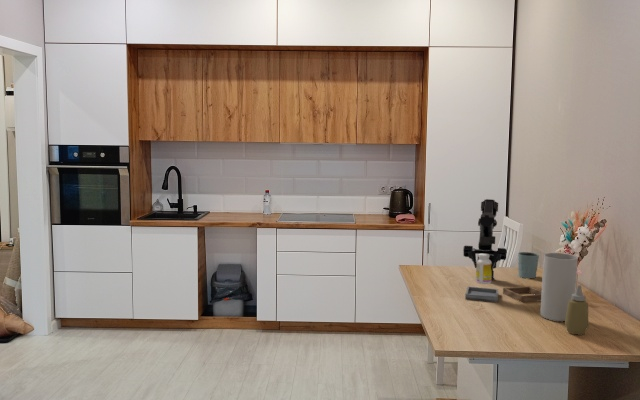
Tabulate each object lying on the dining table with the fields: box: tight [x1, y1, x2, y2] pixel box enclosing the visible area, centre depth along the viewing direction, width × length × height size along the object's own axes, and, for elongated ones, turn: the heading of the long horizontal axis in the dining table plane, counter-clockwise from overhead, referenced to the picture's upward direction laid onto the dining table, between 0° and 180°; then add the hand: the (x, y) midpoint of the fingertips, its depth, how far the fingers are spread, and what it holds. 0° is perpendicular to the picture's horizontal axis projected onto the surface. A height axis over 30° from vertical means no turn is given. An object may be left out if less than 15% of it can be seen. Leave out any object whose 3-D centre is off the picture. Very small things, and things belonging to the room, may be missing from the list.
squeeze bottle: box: [564, 284, 590, 336], centre depth 216 cm, size 8×8×18 cm
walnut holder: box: [502, 286, 542, 303], centre depth 265 cm, size 14×14×2 cm
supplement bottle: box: [475, 253, 492, 285], centre depth 262 cm, size 7×7×13 cm
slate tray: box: [464, 286, 499, 303], centre depth 264 cm, size 14×14×2 cm
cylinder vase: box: [539, 252, 579, 323], centre depth 234 cm, size 12×12×25 cm
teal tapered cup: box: [517, 251, 540, 279], centre depth 302 cm, size 10×10×12 cm
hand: (483, 268), depth 261 cm, fingers closed on supplement bottle, 7 cm apart
